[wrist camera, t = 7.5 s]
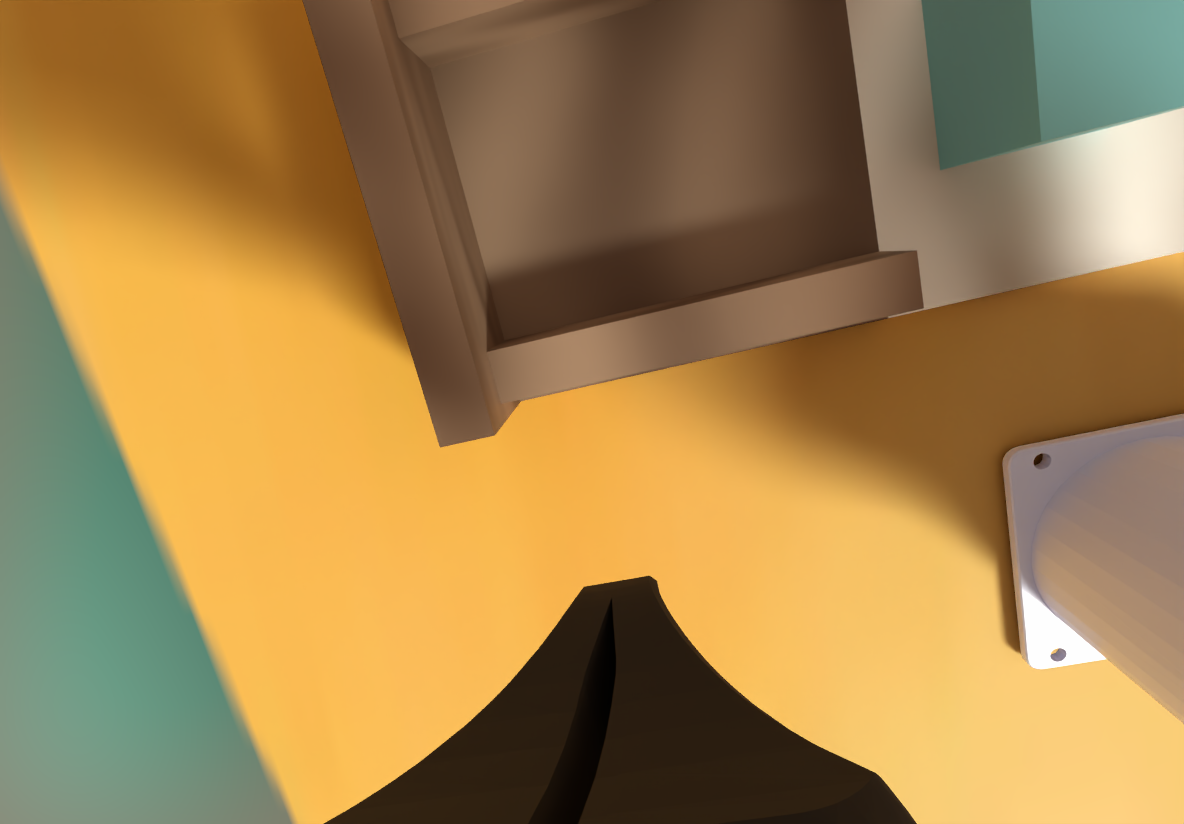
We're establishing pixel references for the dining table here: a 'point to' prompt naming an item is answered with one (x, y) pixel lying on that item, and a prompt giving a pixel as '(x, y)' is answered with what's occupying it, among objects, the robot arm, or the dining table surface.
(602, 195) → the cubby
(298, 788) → the dining table surface
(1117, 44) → the teal block
